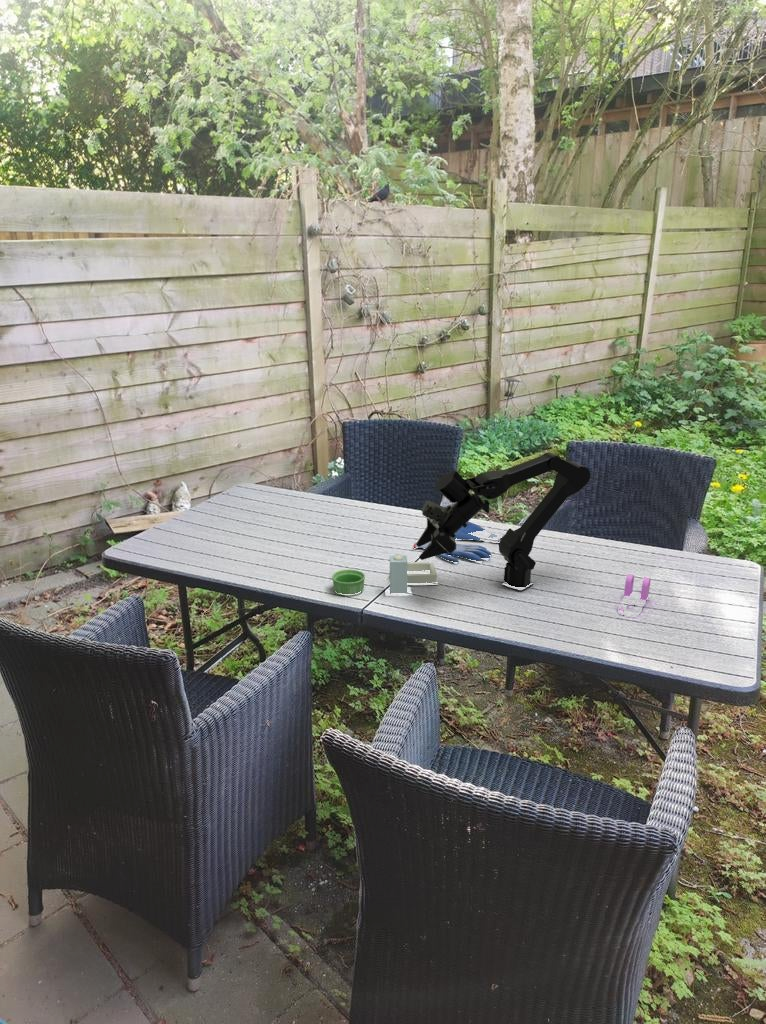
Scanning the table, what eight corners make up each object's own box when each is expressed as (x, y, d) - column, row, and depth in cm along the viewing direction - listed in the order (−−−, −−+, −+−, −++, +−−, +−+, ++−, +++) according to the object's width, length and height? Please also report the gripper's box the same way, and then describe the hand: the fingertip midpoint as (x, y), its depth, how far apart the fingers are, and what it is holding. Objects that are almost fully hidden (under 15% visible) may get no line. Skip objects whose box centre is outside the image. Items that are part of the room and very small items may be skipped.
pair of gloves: (480, 571, 206) (481, 560, 205) (402, 555, 218) (402, 544, 217) (516, 537, 233) (517, 526, 232) (445, 524, 244) (445, 514, 243)
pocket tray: (435, 570, 206) (435, 557, 204) (438, 585, 196) (439, 572, 195) (390, 571, 205) (390, 558, 204) (391, 586, 196) (391, 573, 194)
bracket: (626, 595, 190) (629, 571, 188) (648, 600, 188) (651, 576, 185) (614, 614, 180) (617, 590, 178) (637, 620, 177) (640, 594, 175)
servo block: (411, 589, 194) (411, 552, 191) (412, 596, 190) (413, 559, 186) (384, 589, 194) (384, 553, 190) (384, 596, 190) (384, 559, 186)
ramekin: (328, 586, 196) (327, 572, 195) (359, 581, 199) (358, 567, 198) (337, 600, 188) (337, 585, 187) (369, 594, 191) (369, 579, 190)
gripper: (436, 481, 192) (395, 520, 195) (444, 503, 174) (399, 545, 177) (464, 508, 194) (423, 546, 198) (475, 532, 177) (430, 573, 180)
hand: (418, 551), depth 188 cm, fingers open, 9 cm apart
